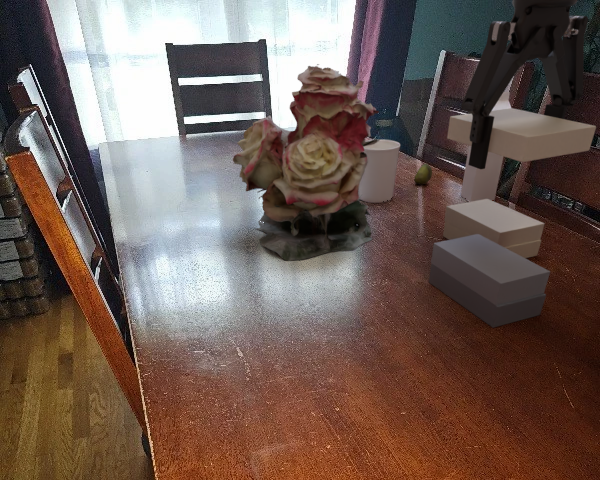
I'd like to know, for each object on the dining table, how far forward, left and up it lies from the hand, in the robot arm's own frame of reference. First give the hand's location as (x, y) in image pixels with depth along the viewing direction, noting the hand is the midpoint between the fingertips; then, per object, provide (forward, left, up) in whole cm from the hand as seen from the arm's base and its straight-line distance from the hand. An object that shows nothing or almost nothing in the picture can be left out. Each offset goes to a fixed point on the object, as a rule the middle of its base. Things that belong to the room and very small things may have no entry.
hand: (510, 161), depth 74 cm
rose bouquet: (+34, +17, -20) cm, 43 cm away
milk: (+38, -28, -20) cm, 51 cm away
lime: (+54, -23, -20) cm, 62 cm away
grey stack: (-3, +3, -20) cm, 20 cm away
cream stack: (+14, -12, -20) cm, 27 cm away
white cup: (+50, -7, -20) cm, 54 cm away
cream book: (0, 0, +2) cm, 2 cm away
